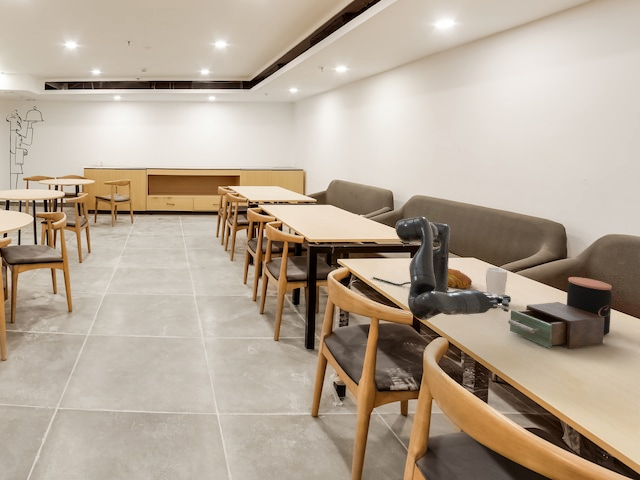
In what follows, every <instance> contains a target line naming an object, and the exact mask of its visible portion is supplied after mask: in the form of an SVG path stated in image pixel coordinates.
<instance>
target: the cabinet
mask: <svg viewBox="0 0 640 480" xmlns="http://www.w3.org/2000/svg"><path fill="white" fill-rule="evenodd" d="M525 307H526V308H525V310H532V309H533V310H535V311H538V312H541V313H544V314H546V315H549V316H552V317H554V318H557V319H560V320H563V321H565V322H568V327H567V343H563V344H558V345H559V346H561V347H564V348H566V349H568V350H572V349H578V348H579V349H580V348H585V347H586V348H587V347H595V346H601V345H604V336H605V335H604V317H602V316H599V315H596V314H593V313H590V312H587V311H584V310H581V309H578V308H575V307H572V306H569V305H567V303H562V302H559V301H555V302H546V303H536V304H526V306H525Z"/></svg>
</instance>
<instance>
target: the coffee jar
mask: <svg viewBox="0 0 640 480" xmlns="http://www.w3.org/2000/svg"><path fill="white" fill-rule="evenodd" d="M567 281H568V284H567V289H566V291H567V292H566V293H567V294H566V305H569V306H572V307H575V308H578V309H581V310H584V311H587V312H590V313H593V314H596V315H599V316H602V317H604V335H603V336H606V335H608V334H610V331H611V315H612V314H611V313H612V312H611V311H612V297H613V296H612V292H611V290H612V288H613V286H612V285H611V284H609V283H607V282H605V281H604V282H603V281H601V280H596V279H592V278H587V277H580V276H579V277H578V276H570V277H568V278H567Z"/></svg>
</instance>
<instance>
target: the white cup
mask: <svg viewBox="0 0 640 480" xmlns="http://www.w3.org/2000/svg"><path fill="white" fill-rule="evenodd" d="M507 281H508V271H507V270H506V269H503V268H499V267H493V266H487V267H486V268H485V285H486V286H485V287H486V292H489V293H491V294H496V295H506V294H505V293H506V288H507Z"/></svg>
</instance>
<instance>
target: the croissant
mask: <svg viewBox="0 0 640 480" xmlns="http://www.w3.org/2000/svg"><path fill="white" fill-rule="evenodd" d="M472 283H473V281H472V279H471V278H470V277H469V276H468V275H466V274H465V273H464V272H461V271H460V270H458V269H452V268H449V267H448V286H447V287H451V288H455V289H457V290H458V289H460V290H461V289H462V290H463V289H469V288H470V287H471V286H472Z"/></svg>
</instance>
